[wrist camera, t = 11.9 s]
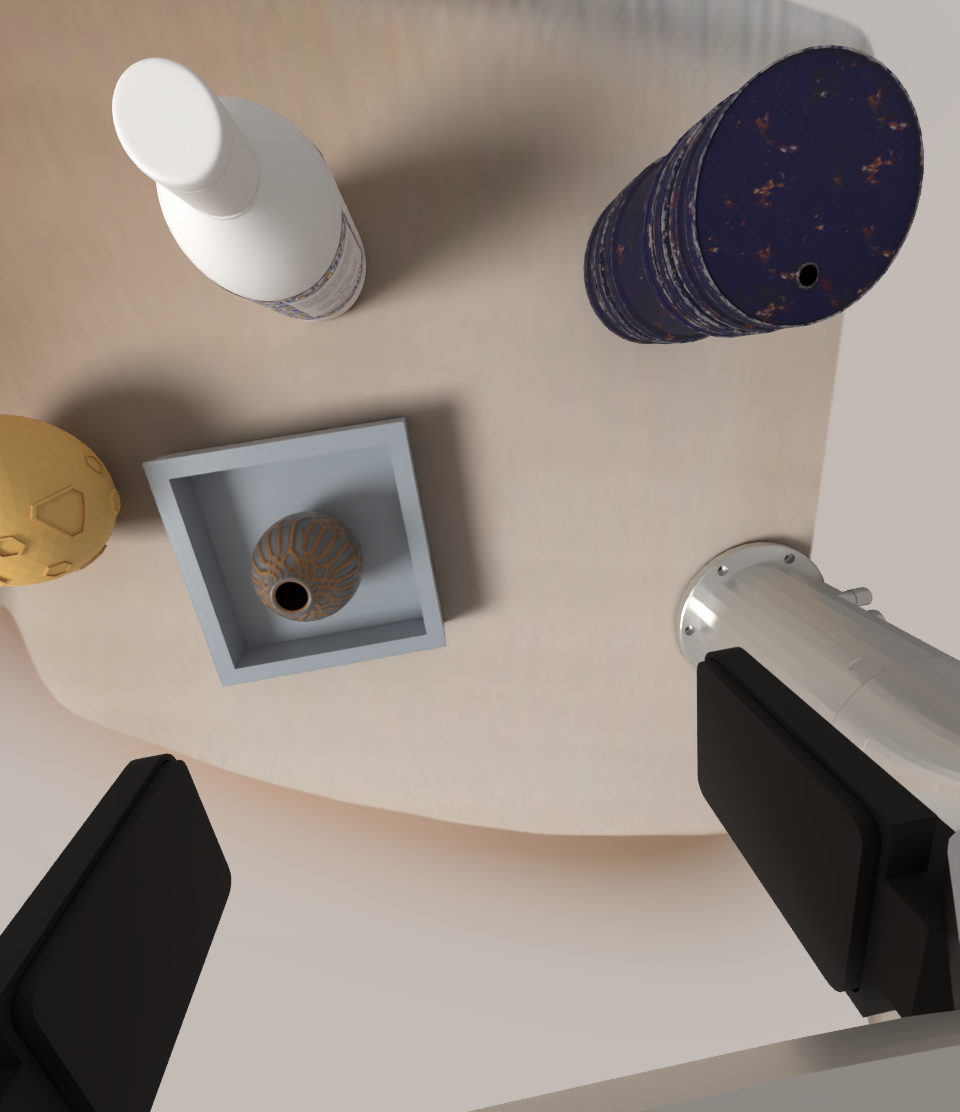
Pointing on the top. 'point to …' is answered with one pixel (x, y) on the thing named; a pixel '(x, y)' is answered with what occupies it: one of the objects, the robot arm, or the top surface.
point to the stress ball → (50, 502)
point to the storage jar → (764, 206)
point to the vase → (307, 566)
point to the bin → (278, 491)
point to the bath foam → (241, 192)
